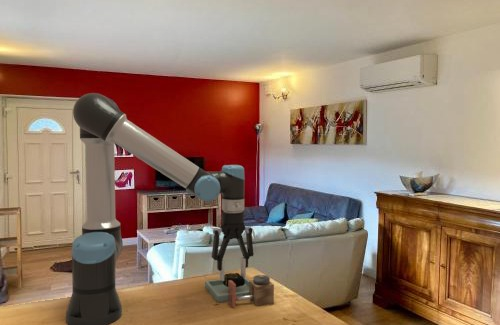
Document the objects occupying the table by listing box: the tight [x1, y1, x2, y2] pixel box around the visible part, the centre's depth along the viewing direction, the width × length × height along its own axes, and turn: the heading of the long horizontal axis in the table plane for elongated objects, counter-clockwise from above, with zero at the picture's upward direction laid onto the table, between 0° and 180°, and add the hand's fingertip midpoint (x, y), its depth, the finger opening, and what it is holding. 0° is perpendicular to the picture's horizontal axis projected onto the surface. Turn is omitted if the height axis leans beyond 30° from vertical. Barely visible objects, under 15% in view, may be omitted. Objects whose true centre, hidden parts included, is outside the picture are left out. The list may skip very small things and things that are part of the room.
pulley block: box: [248, 274, 275, 307], centre depth 133 cm, size 6×6×8 cm
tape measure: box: [223, 272, 245, 287], centre depth 141 cm, size 7×7×4 cm
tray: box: [204, 277, 251, 304], centre depth 142 cm, size 15×15×2 cm
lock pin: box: [227, 280, 254, 308], centre depth 132 cm, size 14×4×7 cm, turn 112°
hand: (232, 278), depth 141 cm, fingers closed on tape measure, 7 cm apart
